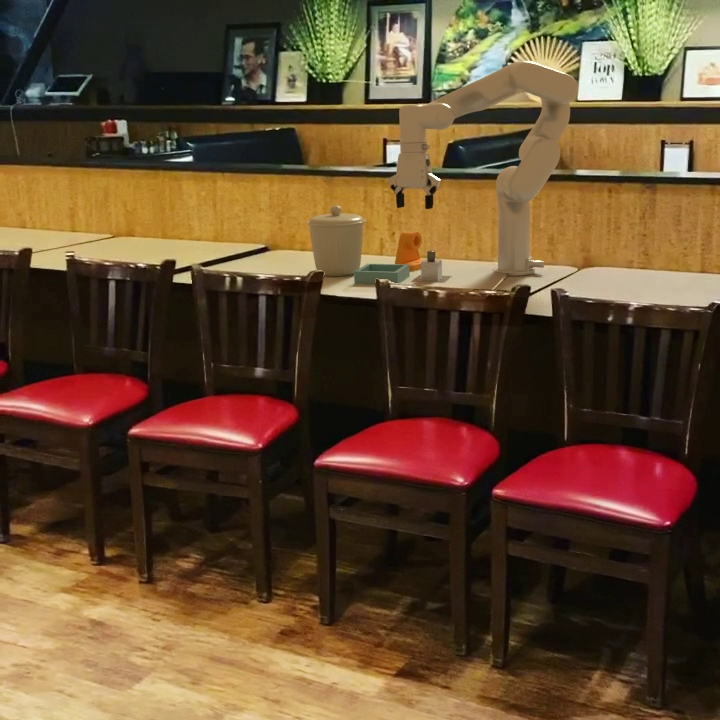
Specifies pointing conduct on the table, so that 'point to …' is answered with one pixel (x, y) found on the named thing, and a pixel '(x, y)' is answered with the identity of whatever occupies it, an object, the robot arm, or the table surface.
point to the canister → (337, 242)
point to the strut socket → (431, 267)
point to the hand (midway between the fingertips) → (414, 208)
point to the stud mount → (443, 280)
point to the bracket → (409, 250)
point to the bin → (381, 273)
